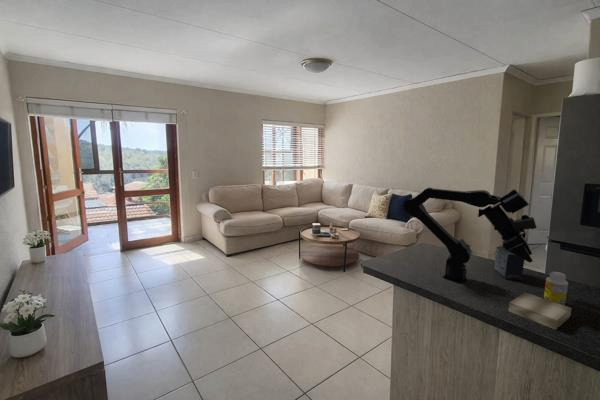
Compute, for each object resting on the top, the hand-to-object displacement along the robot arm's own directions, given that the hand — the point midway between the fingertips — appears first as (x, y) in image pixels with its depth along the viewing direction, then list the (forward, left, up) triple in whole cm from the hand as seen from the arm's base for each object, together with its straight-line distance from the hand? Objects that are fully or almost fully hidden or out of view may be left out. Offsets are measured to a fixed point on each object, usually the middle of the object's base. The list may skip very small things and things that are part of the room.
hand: (530, 258), depth 103 cm
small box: (-12, +14, -14) cm, 23 cm away
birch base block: (+7, -12, -14) cm, 19 cm away
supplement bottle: (+7, +1, -14) cm, 16 cm away
